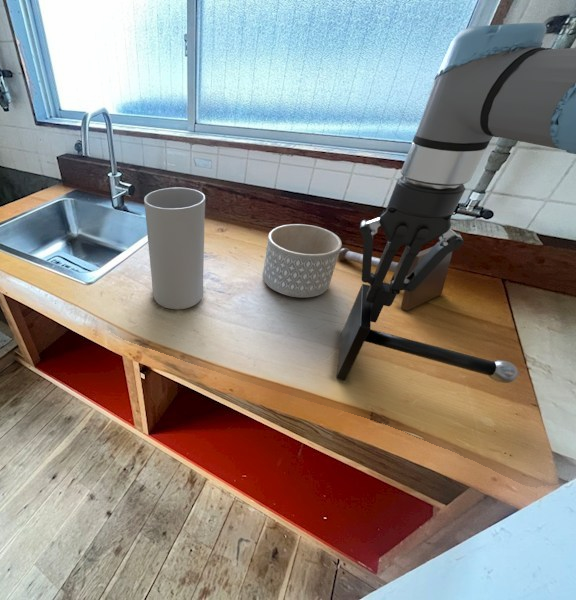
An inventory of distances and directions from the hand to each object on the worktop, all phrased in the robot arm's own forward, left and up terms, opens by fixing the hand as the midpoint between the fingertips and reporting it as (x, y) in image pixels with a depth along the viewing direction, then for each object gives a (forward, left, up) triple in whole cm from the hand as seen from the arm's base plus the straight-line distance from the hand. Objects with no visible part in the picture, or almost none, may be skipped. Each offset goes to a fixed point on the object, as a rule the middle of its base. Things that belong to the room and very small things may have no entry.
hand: (371, 316), depth 56 cm
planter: (+25, -9, -11) cm, 29 cm away
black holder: (-8, -6, -8) cm, 13 cm away
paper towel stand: (+16, -29, -11) cm, 35 cm away
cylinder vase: (+35, +20, -11) cm, 42 cm away
